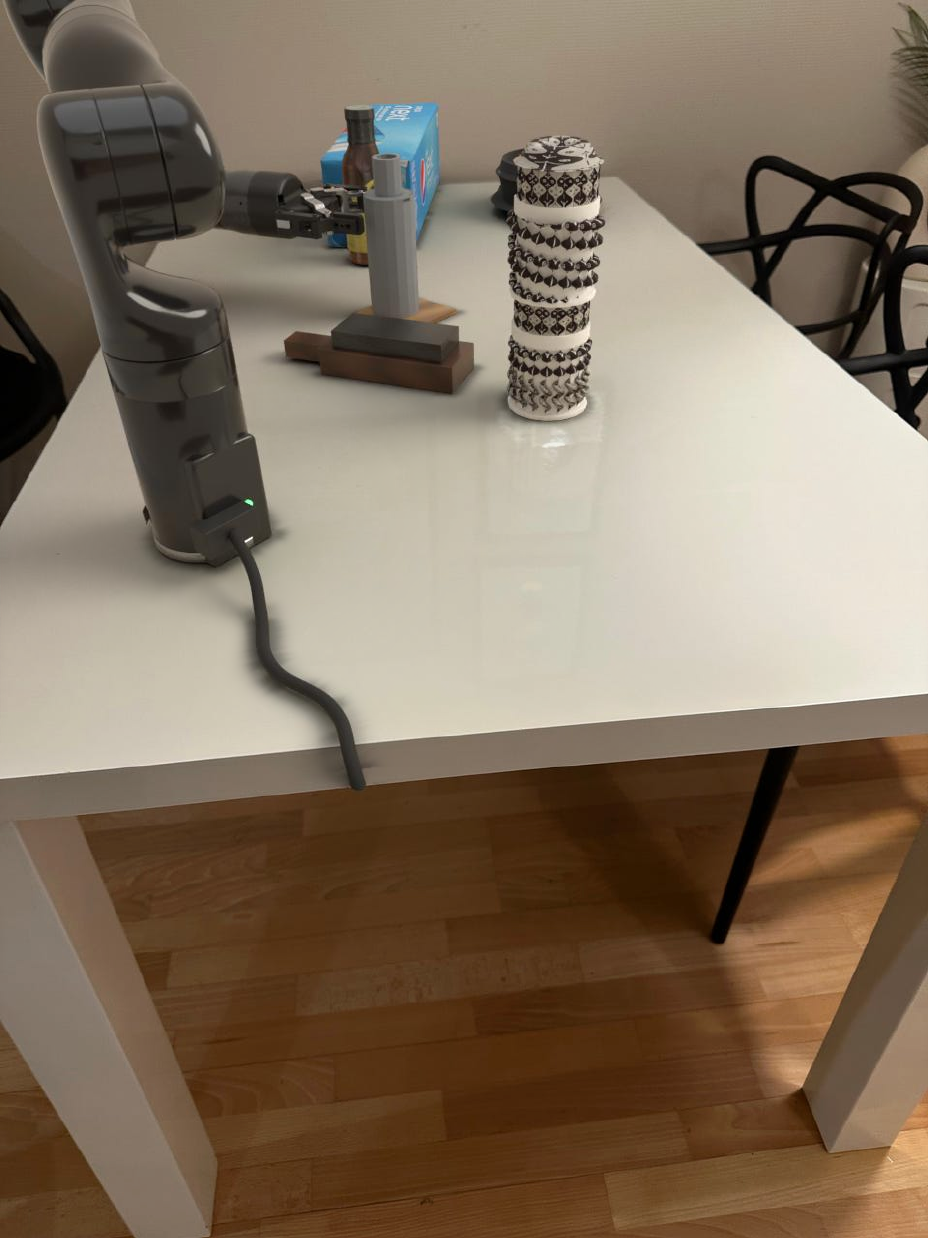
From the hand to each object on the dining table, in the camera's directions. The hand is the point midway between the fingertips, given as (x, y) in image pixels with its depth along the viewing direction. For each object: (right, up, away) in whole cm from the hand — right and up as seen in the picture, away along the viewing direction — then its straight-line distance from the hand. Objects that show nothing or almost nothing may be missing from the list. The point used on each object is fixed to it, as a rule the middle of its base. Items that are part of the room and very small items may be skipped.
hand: (378, 214), depth 108 cm
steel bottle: (+2, -9, +7) cm, 12 cm away
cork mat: (+3, -10, +7) cm, 12 cm away
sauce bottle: (-3, +4, +24) cm, 25 cm away
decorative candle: (+19, -26, -13) cm, 35 cm away
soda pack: (-2, +20, +43) cm, 48 cm away
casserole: (+24, +19, +42) cm, 52 cm away
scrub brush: (0, -20, -6) cm, 21 cm away
